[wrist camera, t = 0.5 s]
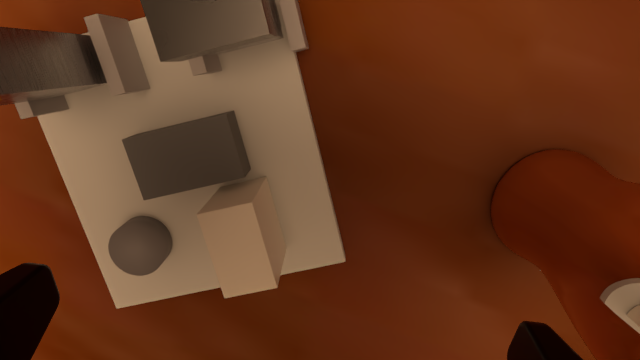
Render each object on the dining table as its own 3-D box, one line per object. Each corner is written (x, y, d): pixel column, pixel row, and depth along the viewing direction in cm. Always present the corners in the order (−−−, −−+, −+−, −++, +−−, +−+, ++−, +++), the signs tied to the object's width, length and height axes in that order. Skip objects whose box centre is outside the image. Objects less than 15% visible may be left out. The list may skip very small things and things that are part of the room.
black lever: (290, 42, 19) (269, 33, 13) (217, 60, 19) (160, 61, 13) (276, -16, 18) (247, -56, 12) (200, 4, 19) (132, -24, 12)
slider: (286, 248, 22) (277, 288, 19) (242, 257, 23) (224, 298, 19) (266, 176, 21) (252, 202, 18) (220, 186, 22) (196, 214, 18)
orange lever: (125, 85, 20) (-59, 108, 10) (56, 102, 20) (-182, 140, 11) (106, 31, 19) (-108, 5, 10) (35, 49, 19) (-236, 41, 10)
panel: (357, 250, 24) (362, 283, 20) (125, 298, 25) (91, 338, 21) (293, -21, 20) (285, -38, 16) (24, 51, 21) (-36, 49, 18)
